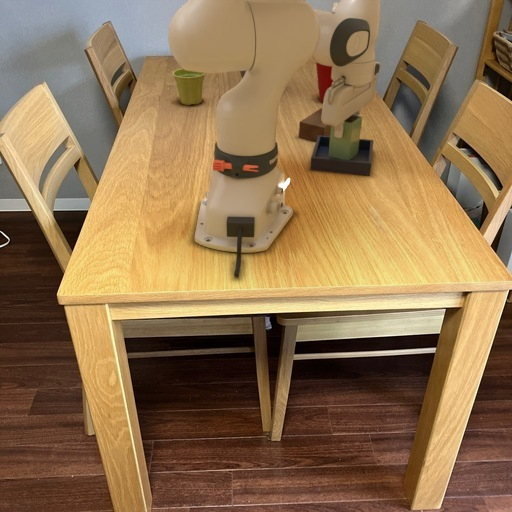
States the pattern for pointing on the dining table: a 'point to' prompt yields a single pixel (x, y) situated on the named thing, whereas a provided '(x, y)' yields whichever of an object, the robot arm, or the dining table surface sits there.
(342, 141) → the green box
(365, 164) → the tray
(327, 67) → the plastic cup
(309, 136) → the walnut block
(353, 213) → the dining table surface
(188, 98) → the plant pot
